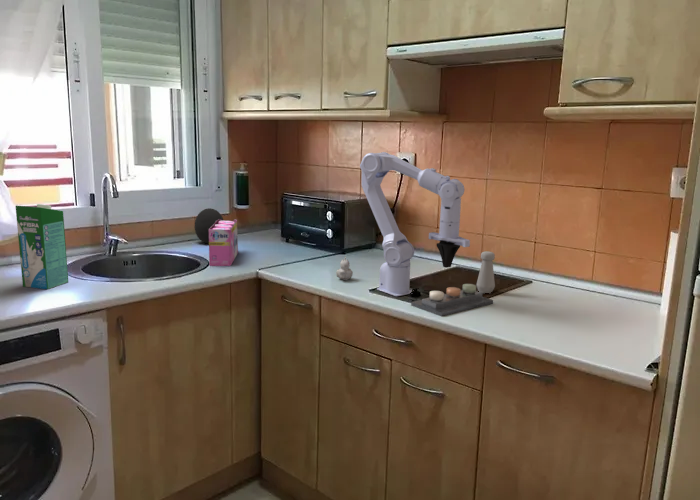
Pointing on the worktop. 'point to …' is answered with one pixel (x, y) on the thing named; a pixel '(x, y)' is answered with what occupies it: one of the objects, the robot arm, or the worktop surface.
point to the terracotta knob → (453, 292)
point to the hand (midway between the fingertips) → (446, 266)
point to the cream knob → (436, 295)
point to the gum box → (223, 243)
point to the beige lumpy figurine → (344, 270)
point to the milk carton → (42, 246)
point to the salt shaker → (486, 273)
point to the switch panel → (453, 303)
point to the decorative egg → (206, 223)
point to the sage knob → (469, 288)
